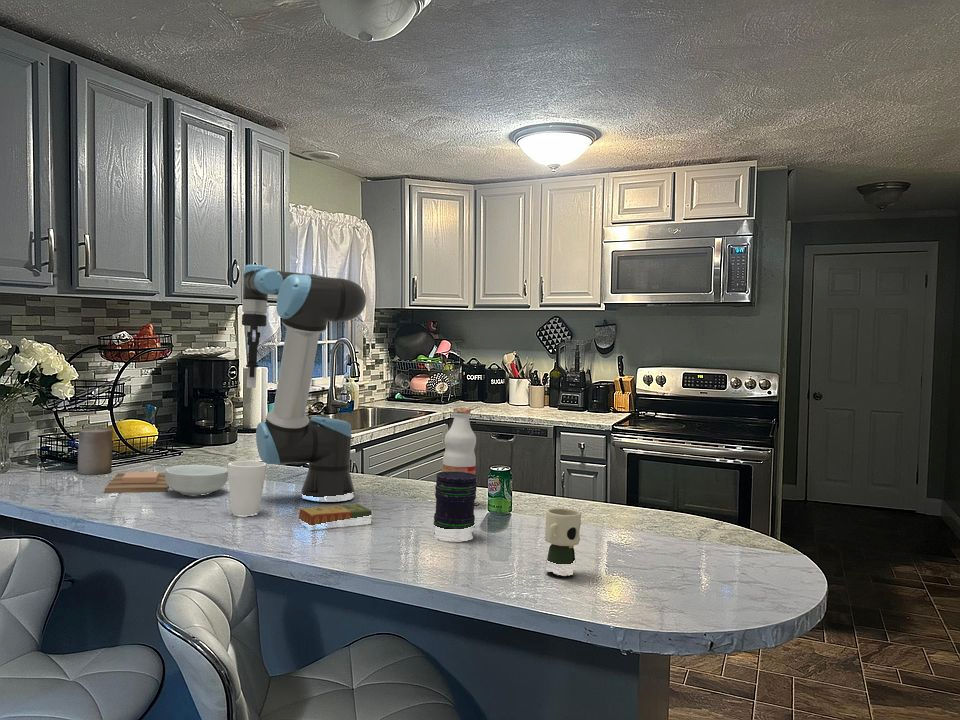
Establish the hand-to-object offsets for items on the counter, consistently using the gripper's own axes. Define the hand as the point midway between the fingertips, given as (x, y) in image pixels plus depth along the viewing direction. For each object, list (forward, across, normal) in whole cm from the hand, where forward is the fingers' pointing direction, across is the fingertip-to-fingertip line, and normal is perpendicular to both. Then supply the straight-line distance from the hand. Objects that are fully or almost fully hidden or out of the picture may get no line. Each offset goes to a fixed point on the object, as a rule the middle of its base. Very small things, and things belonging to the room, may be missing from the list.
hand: (251, 387), depth 228 cm
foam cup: (+30, -48, +1) cm, 56 cm away
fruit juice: (+30, -44, -57) cm, 78 cm away
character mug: (+30, -107, -60) cm, 126 cm away
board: (+29, -6, +30) cm, 42 cm away
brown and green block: (+30, -60, -20) cm, 70 cm away
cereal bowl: (+30, -21, +14) cm, 39 cm away
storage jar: (+30, -76, -46) cm, 94 cm away
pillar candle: (+30, +14, +46) cm, 56 cm away
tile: (+27, -3, +30) cm, 41 cm away
